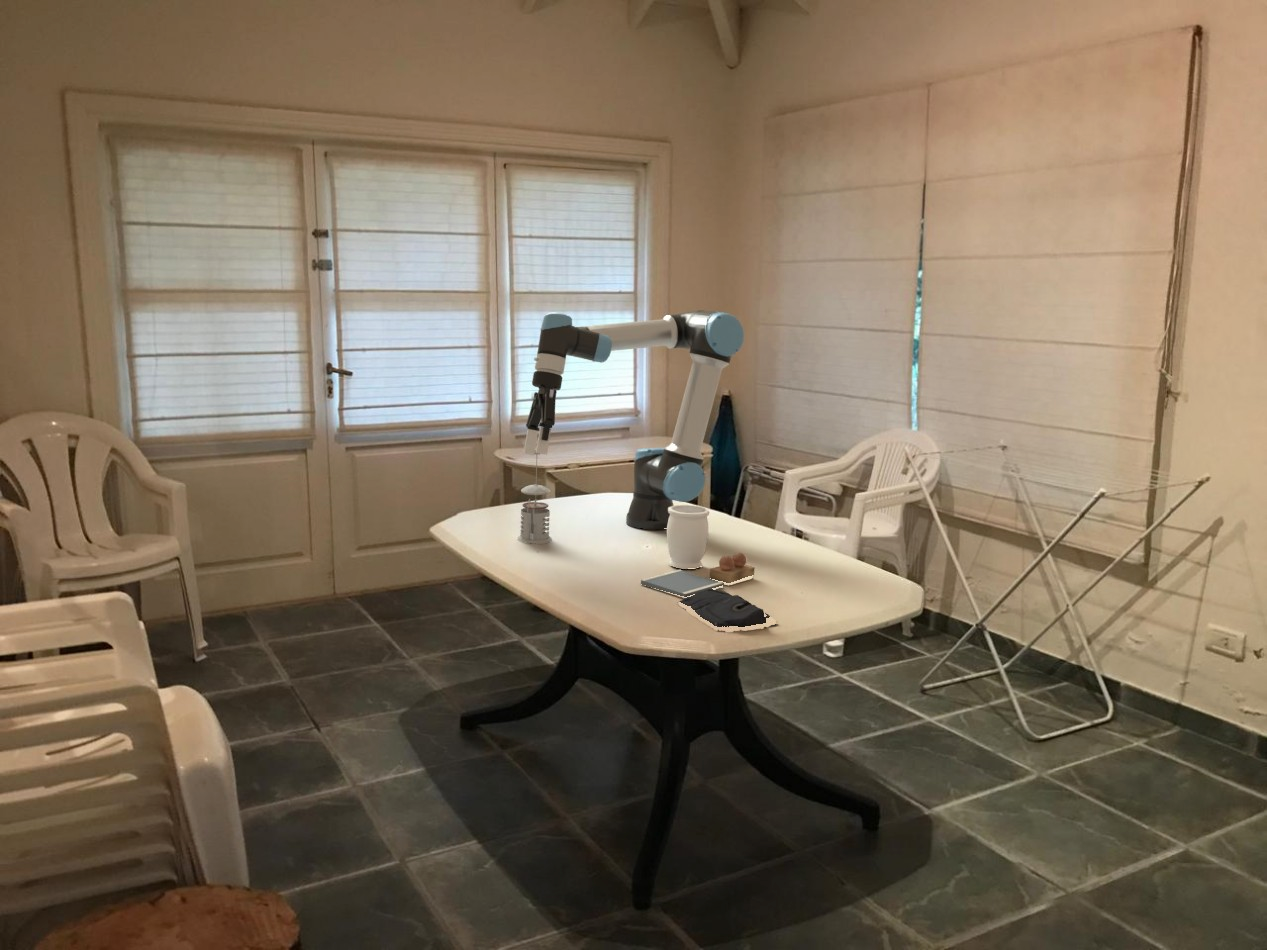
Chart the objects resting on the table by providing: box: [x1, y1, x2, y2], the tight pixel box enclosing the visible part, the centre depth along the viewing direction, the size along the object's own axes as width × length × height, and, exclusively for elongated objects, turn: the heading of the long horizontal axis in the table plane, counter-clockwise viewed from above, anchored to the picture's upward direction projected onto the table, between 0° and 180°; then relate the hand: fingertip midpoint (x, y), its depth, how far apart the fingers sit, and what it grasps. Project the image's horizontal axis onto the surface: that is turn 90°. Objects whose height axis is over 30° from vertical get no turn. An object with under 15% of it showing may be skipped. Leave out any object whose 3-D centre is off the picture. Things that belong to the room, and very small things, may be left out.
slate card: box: [640, 569, 725, 597], centre depth 243 cm, size 14×14×1 cm
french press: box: [517, 449, 553, 545], centre depth 277 cm, size 10×12×25 cm
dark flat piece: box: [678, 589, 771, 627], centre depth 224 cm, size 15×22×5 cm
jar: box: [666, 504, 710, 569], centre depth 259 cm, size 11×10×15 cm
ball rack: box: [709, 552, 755, 583], centre depth 250 cm, size 10×6×6 cm, turn 136°
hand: (534, 454), depth 262 cm, fingers open, 13 cm apart
